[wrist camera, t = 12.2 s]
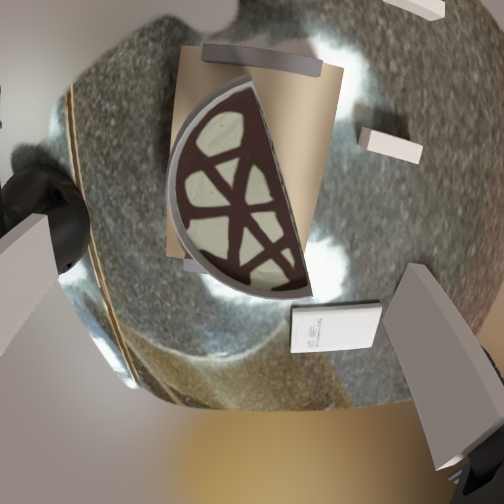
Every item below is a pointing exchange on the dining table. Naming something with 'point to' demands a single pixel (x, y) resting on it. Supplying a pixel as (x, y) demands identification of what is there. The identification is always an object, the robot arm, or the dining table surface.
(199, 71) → the wooden stand
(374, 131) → the pair of white blocks
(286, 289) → the food container
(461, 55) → the dining table surface
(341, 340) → the external hard drive
